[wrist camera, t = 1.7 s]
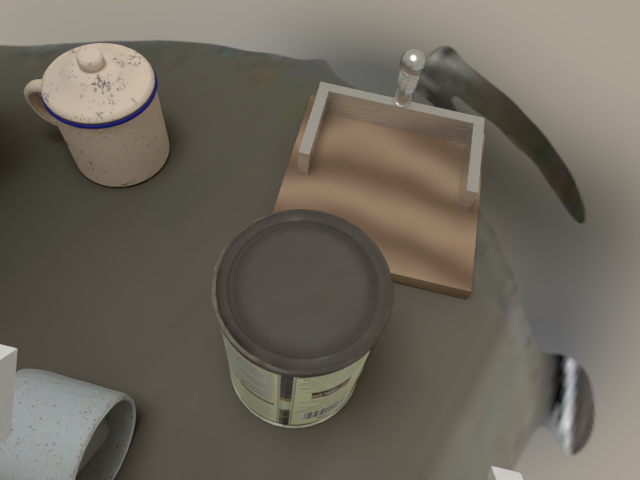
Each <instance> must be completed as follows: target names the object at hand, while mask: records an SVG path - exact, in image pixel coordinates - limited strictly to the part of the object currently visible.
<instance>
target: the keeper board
mask: <svg viewBox="0 0 640 480" xmlns="http://www.w3.org/2000/svg"><path fill="white" fill-rule="evenodd" d="M315 98H316V96H313V95H311V96H310V99H309V102H308V105H307V109H306V112H305V115H304V118H303V121H302V124H301V127H300V130H299V133H298V136H297V139H296V143H295V146H294V149H293V152H292V155H291V158H290V161H289V164H288V167H287V170H286V173H285V176H284V180H283V183H282V186H281V189H280V192H279V195H278V198H277V201H276V204H275V207H274V210H273V213H275V212H280V211H284V210H292V209H307V210H317V211H322V212H327V213H330V214H333V215H336V216H338V217H341V218H343V219H345V220H347V221H348V222H350V223H352V224H354V225H355V226H357V227H358V228H359V229H361V230H362V231H363V232H364V233H366V234H367V235H368V236H369V237H370V238H371V239H372V240H373V241H374V243H375V244H376V245H377V246H378V248H379V249H380V250H381V252H382V254H383V256H384V258H385V260H386V262H387V264H388V267H389V269H390V273H391V276H392V281H393V282H395V283H399V284H404V285H408V286H412V287H416V288H421V289H425V290H429V291H433V292H437V293H442V294H446V295H450V296H454V297H459V298H463V299H466V298H467V297H468V296H469V294H470V293H471V292H472V280H473V268H474V256H475V245H476V233H477V221H478V209H479V197H480V186H481V174H482V161H483V150H484V138H485V134H483V143H482V155H481V167H480V178H479V190H478V194H477V196H476V198H475V199H474V201H473V203H472V205H471V206H470V208H469V210H468V212H465V211H461V210H457V200H458V191H459V182H460V173H461V164H462V155H463V146H464V144H460V143H455V142H451V141H447V140H442V139H438V138H433V137H429V136H424V135H420V134H415V133H411V132H406V131H402V130H398V129H393V128H389V127H384V126H380V125H375V124H371V123H366V122H362V121H357V120H353V119H348V118H344V117H340V116H335V115H331V114H325V118H324V121H323V125H322V128H321V131H320V135H319V138H318V141H317V145H316V148H315V152H314V155H313V158H312V162H311V165H310V168H309V172H308V175H304V174H300V173H297V165H298V152H299V149H300V146H301V142H302V139H303V136H304V133H305V130H306V127H307V123H308V120H309V117H310V114H311V111H312V108H313V104H314V101H315Z"/></svg>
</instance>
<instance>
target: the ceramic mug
mask: <svg viewBox="0 0 640 480" xmlns="http://www.w3.org/2000/svg"><path fill="white" fill-rule="evenodd" d="M135 421H136V407H135V403H134V400H133V399H132V398H131V397H130V396H129V395H127V394H125V393H123V392H119V391H115V390H111V389H108V388H104V387H101V386H98V385H95V384H91V383H88V382H84V381H81V380H77V379H73V378H69V377H66V376H63V375H60V374H57V373H54V372H50V371H45V370H38V369H19V370H16V375H15V387H14V400H13V412H12V424H11V435H10V436H9V437H8V438H7V439H6V440H5V441H4V442H2V443H1V444H0V480H114V478H115V476H116V474H117V473H118V471H119V469H120V467H121V465H122V463H123V460H124V458H125V456H126V453H127V451H128V448H129V445H130V443H131V439H132V435H133V431H134V427H135Z"/></svg>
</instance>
